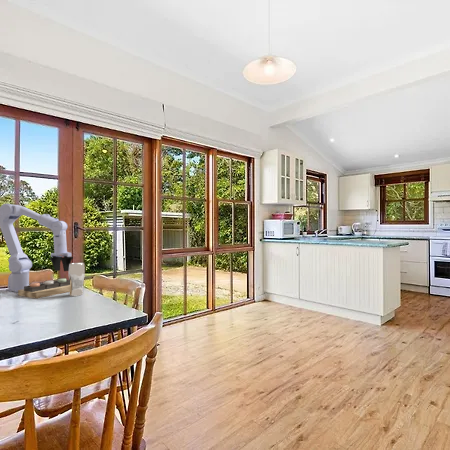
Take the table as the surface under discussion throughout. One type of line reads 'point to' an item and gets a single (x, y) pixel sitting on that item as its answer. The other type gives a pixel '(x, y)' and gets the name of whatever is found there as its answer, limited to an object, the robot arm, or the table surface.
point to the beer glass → (76, 278)
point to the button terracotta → (34, 284)
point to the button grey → (48, 282)
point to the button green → (61, 280)
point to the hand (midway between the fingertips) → (61, 270)
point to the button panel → (45, 290)
